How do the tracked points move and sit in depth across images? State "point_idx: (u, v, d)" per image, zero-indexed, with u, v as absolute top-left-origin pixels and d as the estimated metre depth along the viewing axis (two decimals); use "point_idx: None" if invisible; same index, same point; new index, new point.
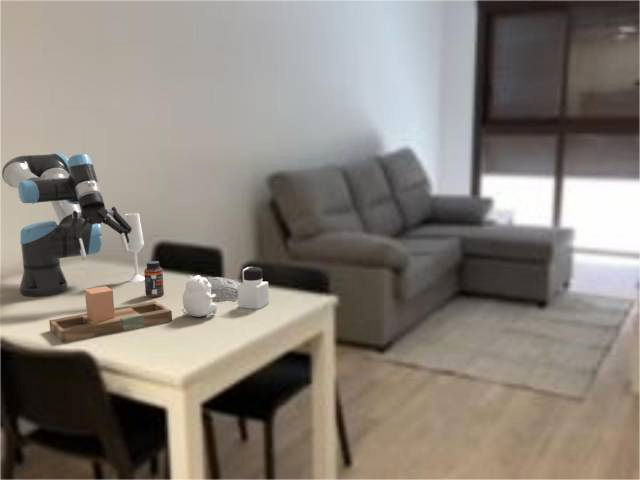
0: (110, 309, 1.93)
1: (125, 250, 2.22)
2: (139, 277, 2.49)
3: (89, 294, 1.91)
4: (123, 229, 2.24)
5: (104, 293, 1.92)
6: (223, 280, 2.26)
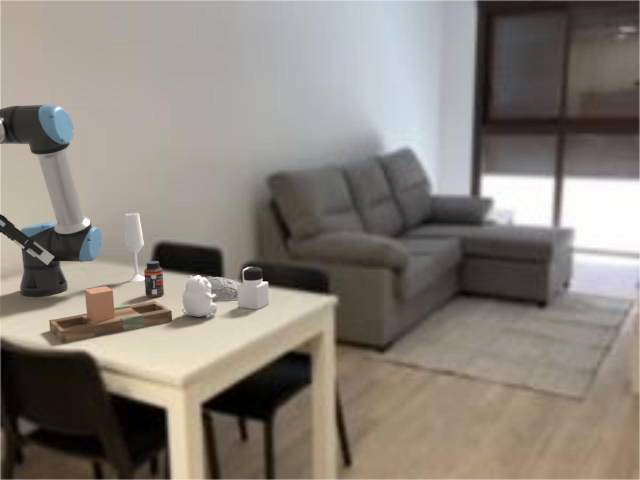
0: (110, 309, 1.93)
1: None
2: (139, 277, 2.49)
3: (89, 294, 1.91)
4: None
5: (104, 293, 1.92)
6: (223, 280, 2.26)
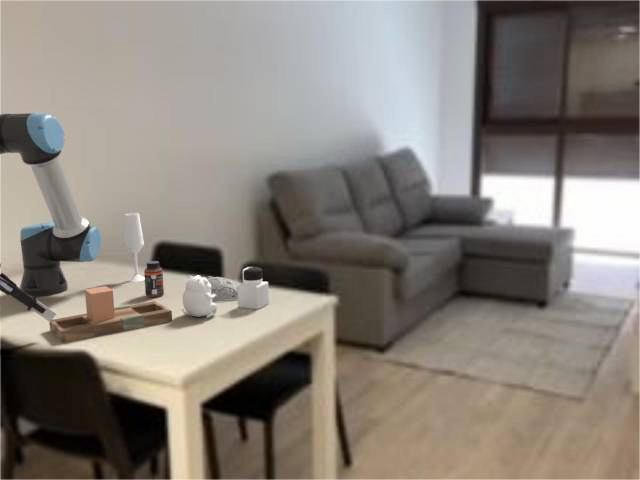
0: (110, 309, 1.93)
1: None
2: (139, 277, 2.49)
3: (89, 294, 1.91)
4: None
5: (104, 293, 1.92)
6: (223, 280, 2.26)
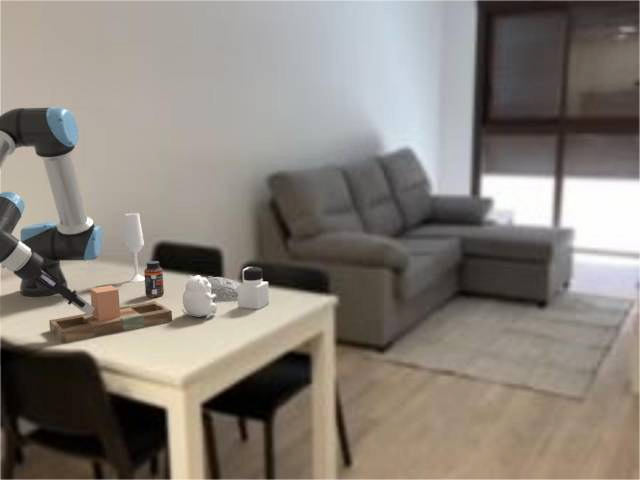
0: (116, 308, 1.94)
1: None
2: (139, 277, 2.49)
3: (95, 293, 1.92)
4: None
5: (110, 292, 1.93)
6: (222, 280, 2.26)
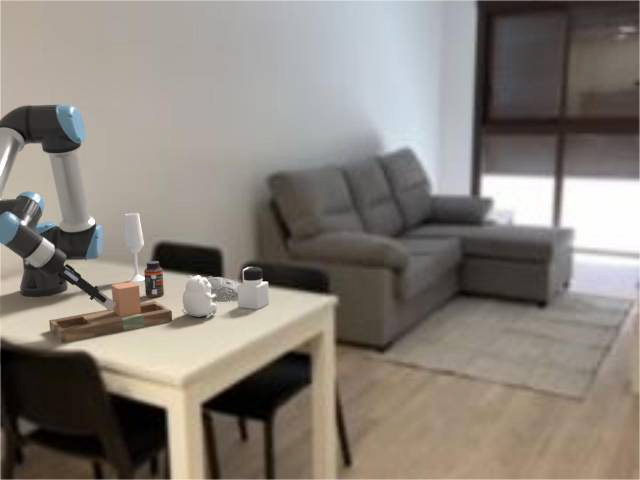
0: (137, 304, 1.98)
1: None
2: (139, 277, 2.49)
3: (116, 289, 1.96)
4: None
5: (131, 288, 1.96)
6: (222, 280, 2.26)
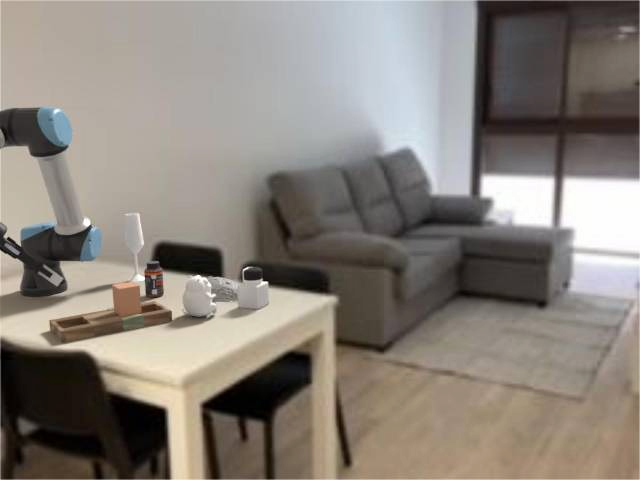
0: (137, 304, 1.98)
1: None
2: (139, 277, 2.49)
3: (117, 289, 1.96)
4: None
5: (131, 288, 1.96)
6: (222, 280, 2.26)
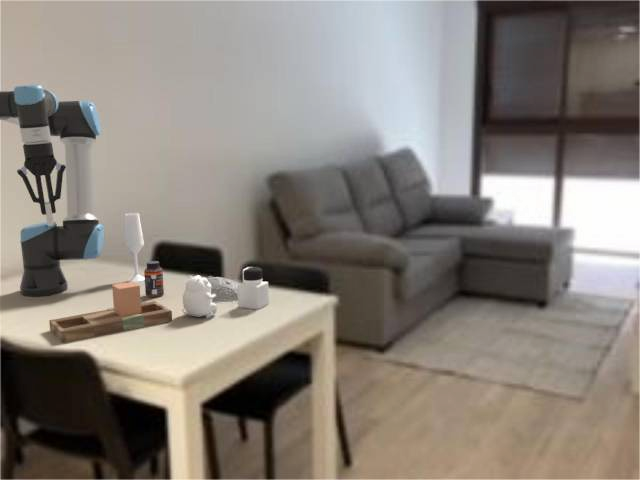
0: (137, 304, 1.98)
1: None
2: (139, 277, 2.49)
3: (117, 289, 1.96)
4: (51, 197, 1.94)
5: (131, 288, 1.96)
6: (222, 280, 2.26)
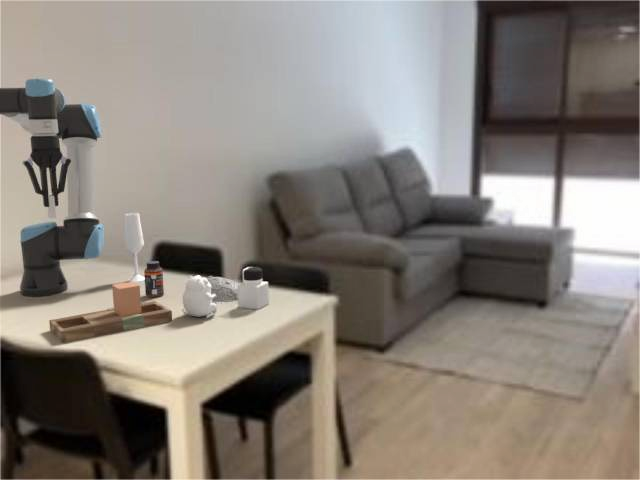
0: (137, 304, 1.98)
1: None
2: (139, 277, 2.49)
3: (117, 289, 1.96)
4: (55, 190, 1.97)
5: (131, 288, 1.96)
6: (222, 280, 2.26)
